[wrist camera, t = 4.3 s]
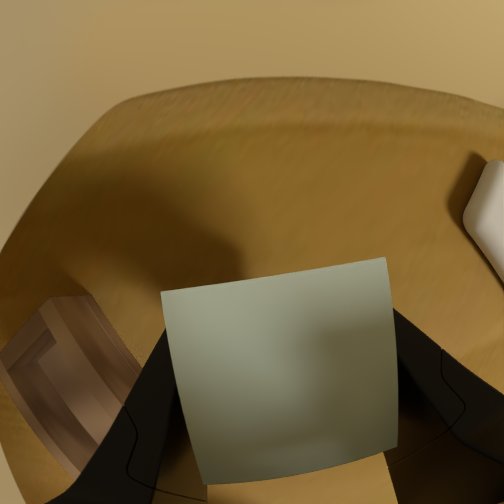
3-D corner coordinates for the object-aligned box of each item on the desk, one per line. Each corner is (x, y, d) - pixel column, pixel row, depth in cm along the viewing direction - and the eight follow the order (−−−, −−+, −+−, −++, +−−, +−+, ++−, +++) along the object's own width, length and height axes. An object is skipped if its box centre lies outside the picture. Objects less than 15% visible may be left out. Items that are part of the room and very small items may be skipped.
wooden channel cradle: (182, 415, 17) (164, 450, 12) (108, 457, 16) (82, 489, 12) (91, 294, 18) (50, 296, 13) (31, 352, 17) (-9, 363, 12)
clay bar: (307, 352, 15) (397, 446, 5) (230, 364, 14) (203, 484, 4) (296, 276, 15) (385, 256, 5) (217, 287, 15) (160, 291, 5)
